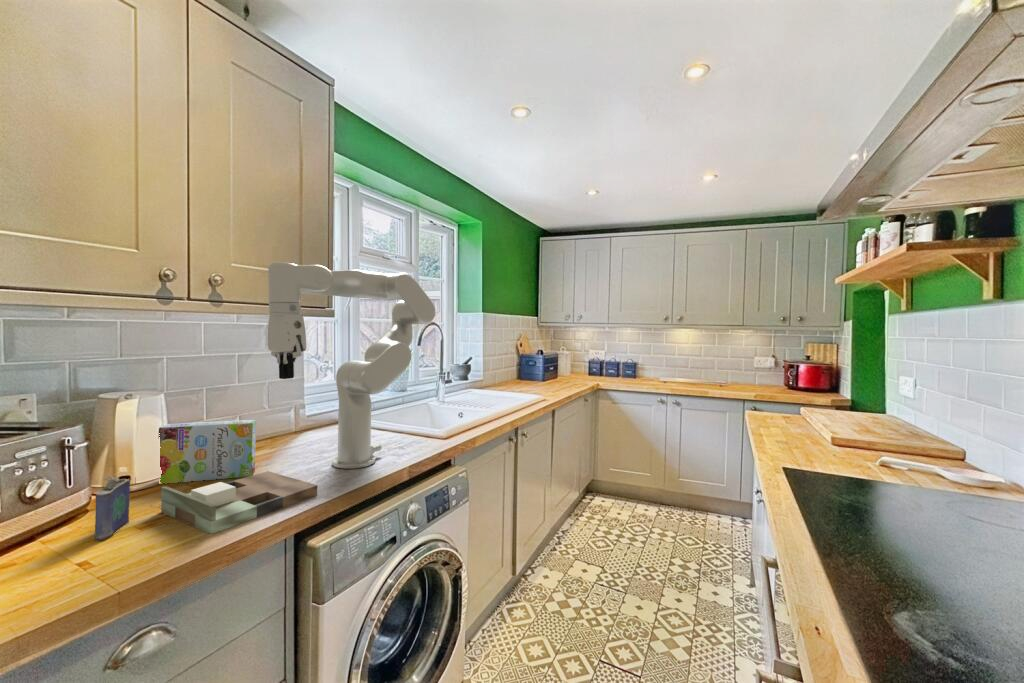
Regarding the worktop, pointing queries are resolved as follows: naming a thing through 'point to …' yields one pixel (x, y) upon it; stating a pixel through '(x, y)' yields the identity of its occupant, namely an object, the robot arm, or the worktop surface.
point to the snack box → (207, 450)
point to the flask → (112, 508)
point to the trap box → (237, 501)
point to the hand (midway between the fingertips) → (286, 378)
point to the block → (215, 493)
